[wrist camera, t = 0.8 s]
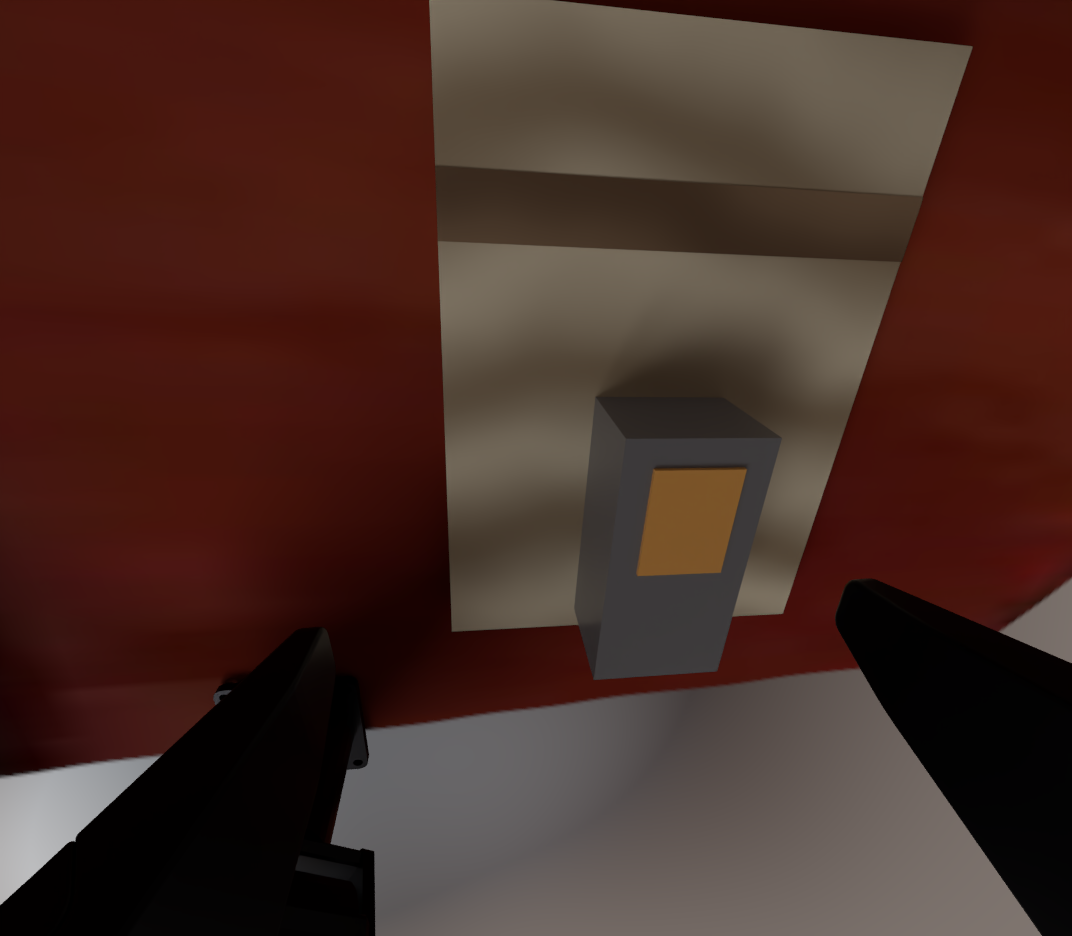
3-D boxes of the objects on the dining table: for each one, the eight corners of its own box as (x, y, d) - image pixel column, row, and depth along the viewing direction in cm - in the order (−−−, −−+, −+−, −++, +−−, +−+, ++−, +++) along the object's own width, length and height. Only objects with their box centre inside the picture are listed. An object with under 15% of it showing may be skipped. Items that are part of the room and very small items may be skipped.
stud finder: (679, 603, 24) (718, 674, 20) (574, 608, 23) (594, 682, 19) (723, 397, 19) (784, 439, 15) (595, 396, 19) (627, 440, 15)
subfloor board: (766, 593, 26) (783, 614, 25) (452, 608, 24) (452, 632, 23) (931, 60, 16) (974, 45, 15) (432, 8, 14) (428, -14, 13)
